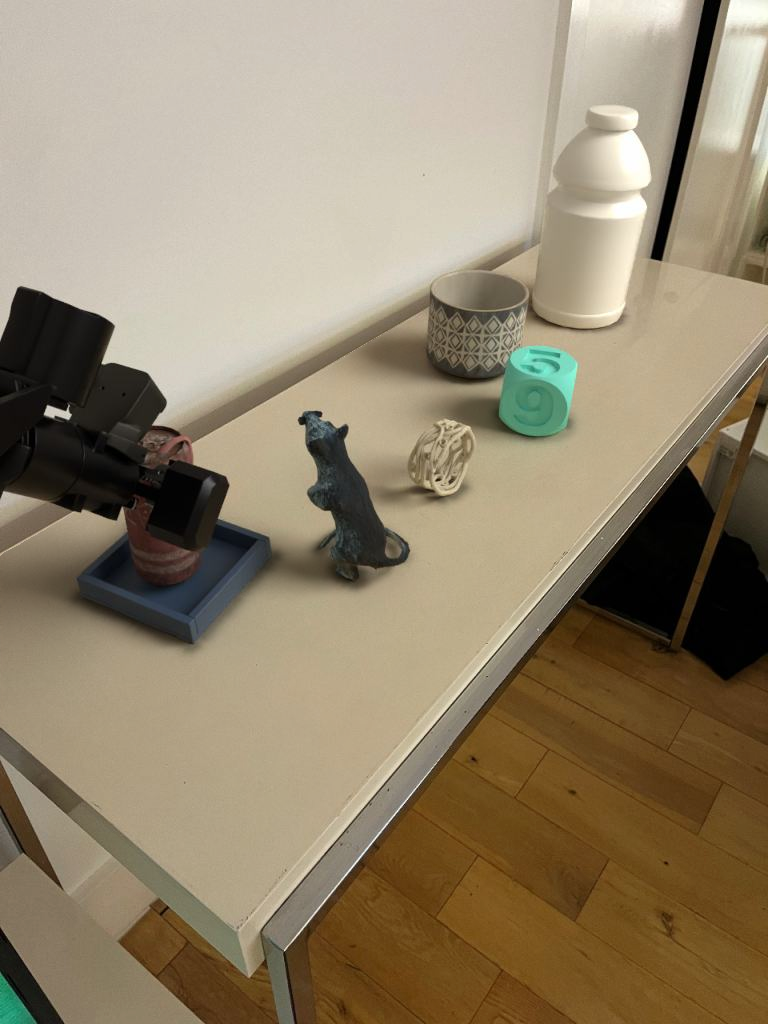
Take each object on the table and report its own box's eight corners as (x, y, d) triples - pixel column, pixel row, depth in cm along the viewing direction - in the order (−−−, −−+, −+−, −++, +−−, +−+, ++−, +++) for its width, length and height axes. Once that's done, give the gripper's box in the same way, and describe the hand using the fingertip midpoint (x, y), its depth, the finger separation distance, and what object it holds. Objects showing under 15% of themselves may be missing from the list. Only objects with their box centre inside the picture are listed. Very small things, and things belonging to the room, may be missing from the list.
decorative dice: (568, 407, 98) (580, 349, 93) (563, 441, 92) (574, 382, 87) (505, 397, 99) (513, 340, 94) (496, 431, 93) (503, 372, 88)
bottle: (523, 322, 116) (552, 117, 98) (536, 285, 126) (565, 93, 108) (619, 336, 113) (667, 127, 95) (625, 297, 123) (670, 102, 105)
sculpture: (343, 511, 82) (340, 386, 72) (425, 556, 76) (433, 429, 67) (287, 552, 77) (275, 425, 67) (370, 604, 71) (370, 474, 62)
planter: (506, 393, 100) (516, 318, 94) (413, 374, 104) (417, 300, 97) (527, 349, 109) (538, 278, 103) (441, 333, 113) (446, 263, 106)
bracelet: (476, 476, 87) (483, 415, 81) (434, 511, 82) (439, 449, 77) (447, 462, 88) (452, 402, 83) (404, 496, 84) (407, 434, 79)
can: (215, 572, 72) (203, 449, 64) (149, 598, 69) (127, 472, 61) (188, 535, 76) (174, 414, 67) (125, 557, 73) (101, 433, 64)
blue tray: (193, 644, 67) (189, 624, 66) (81, 596, 72) (75, 577, 70) (271, 555, 76) (269, 536, 75) (168, 517, 80) (164, 499, 79)
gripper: (197, 384, 52) (293, 440, 66) (-8, 324, 58) (121, 387, 73) (140, 542, 51) (249, 563, 66) (-60, 465, 57) (80, 500, 72)
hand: (173, 497), depth 69 cm, fingers closed on can, 5 cm apart
